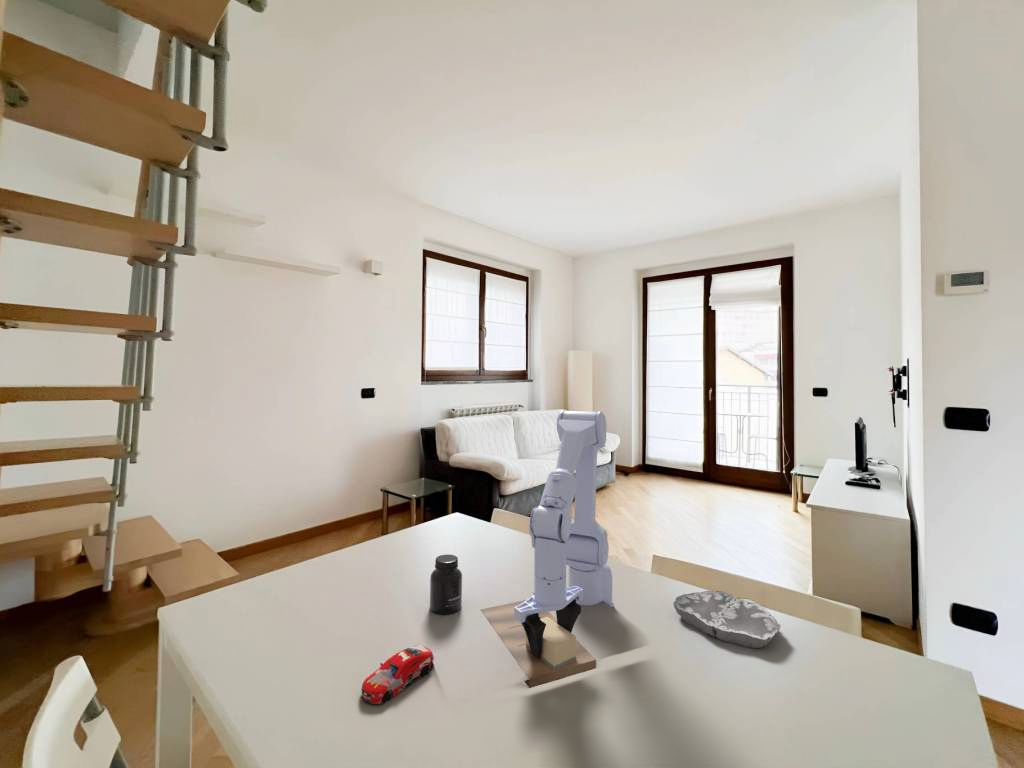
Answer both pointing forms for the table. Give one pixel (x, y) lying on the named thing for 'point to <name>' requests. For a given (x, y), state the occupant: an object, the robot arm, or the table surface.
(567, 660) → the block
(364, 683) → the race car
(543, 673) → the board
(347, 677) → the table surface
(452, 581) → the supplement bottle
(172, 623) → the table surface
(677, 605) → the brain slice
